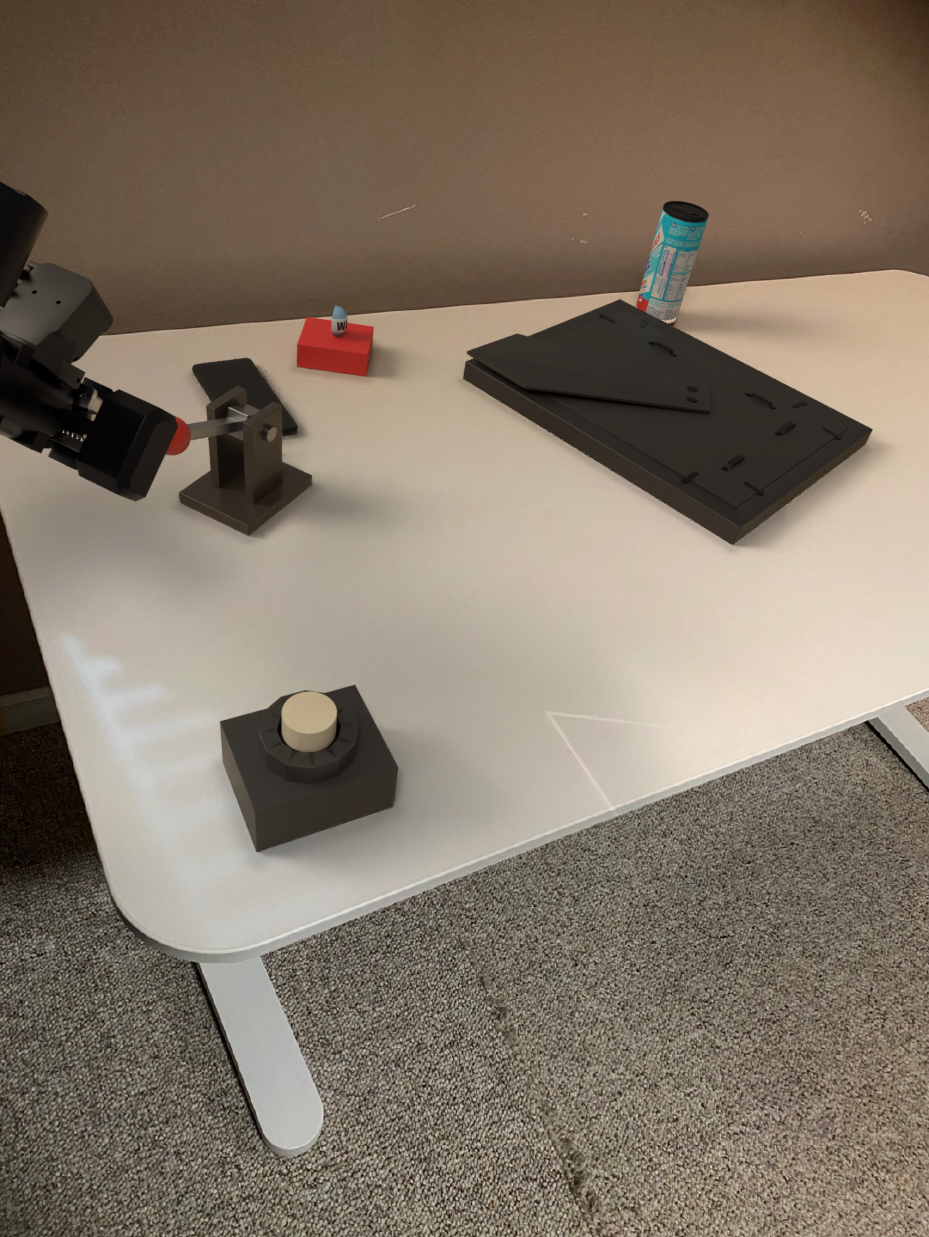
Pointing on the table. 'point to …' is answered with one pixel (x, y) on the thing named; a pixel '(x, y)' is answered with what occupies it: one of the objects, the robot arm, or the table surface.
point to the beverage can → (671, 259)
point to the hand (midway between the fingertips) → (119, 441)
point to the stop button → (309, 721)
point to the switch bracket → (245, 470)
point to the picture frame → (669, 414)
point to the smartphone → (241, 385)
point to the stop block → (307, 772)
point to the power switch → (210, 428)
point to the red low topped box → (335, 344)
